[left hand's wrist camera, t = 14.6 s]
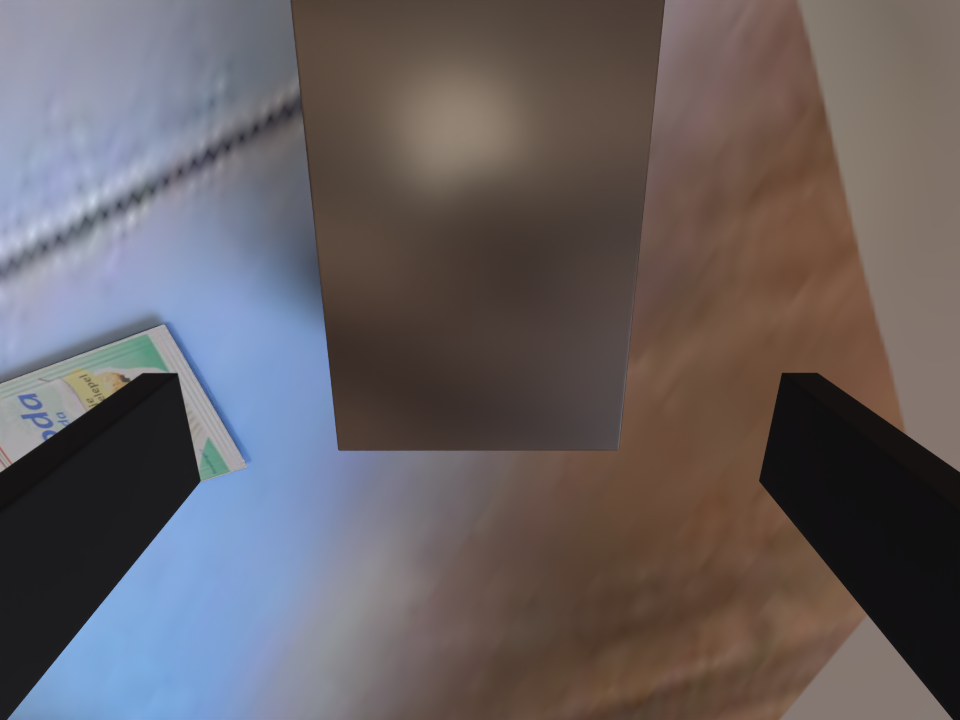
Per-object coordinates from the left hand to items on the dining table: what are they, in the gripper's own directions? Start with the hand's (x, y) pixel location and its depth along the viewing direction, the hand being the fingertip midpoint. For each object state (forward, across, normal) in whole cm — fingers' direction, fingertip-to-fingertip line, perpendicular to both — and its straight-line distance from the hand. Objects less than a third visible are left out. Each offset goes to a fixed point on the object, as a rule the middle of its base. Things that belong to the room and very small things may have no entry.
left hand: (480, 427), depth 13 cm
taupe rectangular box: (+16, 0, +4) cm, 17 cm away
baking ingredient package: (+16, -21, -9) cm, 29 cm away
